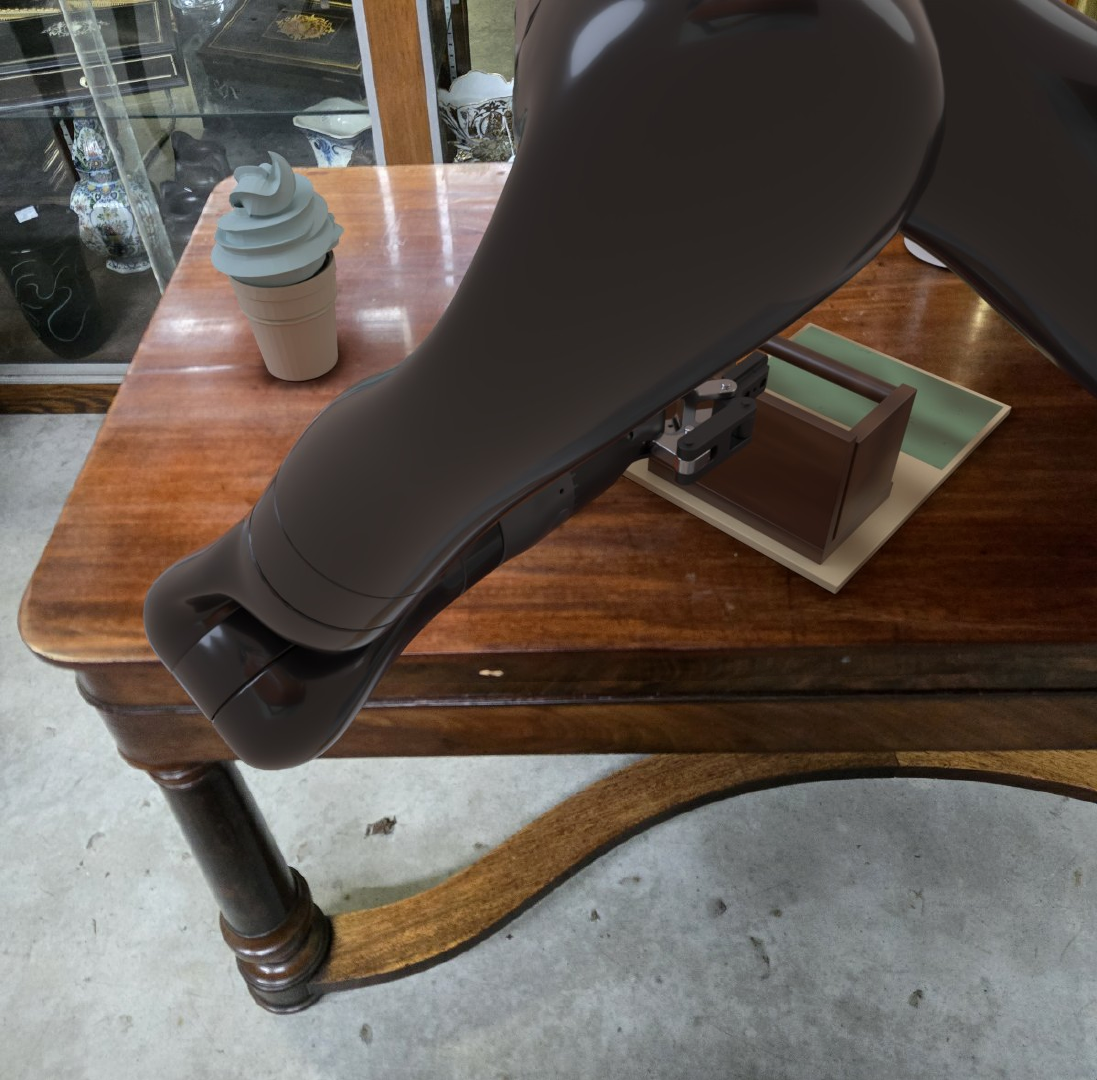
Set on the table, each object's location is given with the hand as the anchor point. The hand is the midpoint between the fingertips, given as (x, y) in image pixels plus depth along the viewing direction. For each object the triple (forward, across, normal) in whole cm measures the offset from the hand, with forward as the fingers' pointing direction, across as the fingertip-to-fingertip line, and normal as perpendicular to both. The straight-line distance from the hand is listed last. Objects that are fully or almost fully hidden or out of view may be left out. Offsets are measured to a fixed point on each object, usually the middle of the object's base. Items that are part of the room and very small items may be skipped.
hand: (702, 338), depth 63 cm
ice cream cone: (-2, +42, +20) cm, 47 cm away
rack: (+11, 0, +19) cm, 22 cm away
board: (+19, 0, +20) cm, 28 cm away
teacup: (+56, +7, +20) cm, 60 cm away
